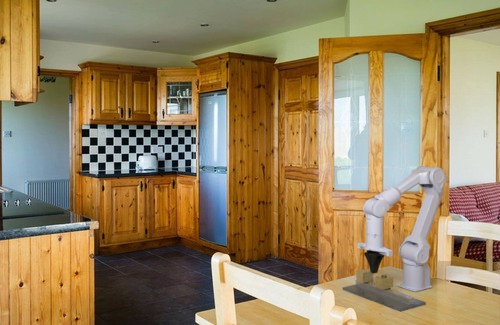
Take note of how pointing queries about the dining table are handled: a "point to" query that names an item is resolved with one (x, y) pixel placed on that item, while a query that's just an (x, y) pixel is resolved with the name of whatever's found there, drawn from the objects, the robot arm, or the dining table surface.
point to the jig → (381, 293)
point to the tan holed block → (384, 282)
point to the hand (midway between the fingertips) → (374, 272)
